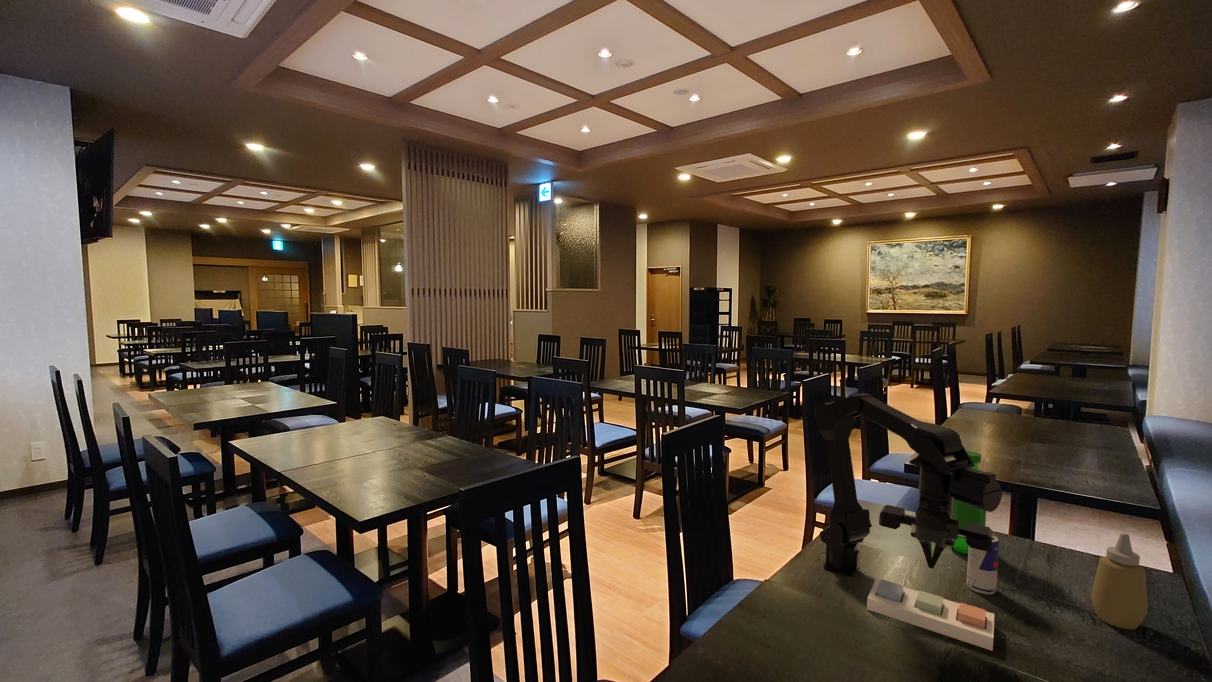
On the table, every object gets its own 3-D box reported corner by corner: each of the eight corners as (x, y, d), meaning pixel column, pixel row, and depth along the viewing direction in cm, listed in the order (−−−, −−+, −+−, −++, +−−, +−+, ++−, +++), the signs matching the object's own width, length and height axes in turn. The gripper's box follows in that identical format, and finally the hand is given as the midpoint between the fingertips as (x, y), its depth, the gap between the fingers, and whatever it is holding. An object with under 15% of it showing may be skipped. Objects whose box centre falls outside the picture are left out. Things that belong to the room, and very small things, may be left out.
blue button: (877, 597, 110) (877, 588, 110) (880, 588, 113) (881, 579, 113) (899, 604, 107) (900, 595, 107) (903, 594, 111) (903, 585, 110)
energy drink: (1000, 596, 113) (1004, 543, 112) (973, 593, 114) (976, 540, 113) (988, 583, 119) (991, 531, 117) (961, 580, 120) (965, 529, 118)
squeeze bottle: (1135, 639, 99) (1144, 548, 98) (1081, 615, 107) (1089, 530, 105) (1152, 626, 103) (1162, 538, 101) (1099, 604, 110) (1107, 522, 108)
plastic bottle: (933, 538, 140) (939, 446, 137) (978, 541, 138) (984, 448, 135) (950, 556, 130) (956, 458, 128) (998, 561, 128) (1005, 461, 126)
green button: (915, 609, 106) (916, 599, 105) (918, 599, 109) (919, 590, 109) (940, 617, 103) (941, 607, 103) (942, 606, 106) (943, 597, 106)
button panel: (866, 609, 109) (867, 597, 109) (875, 589, 116) (876, 578, 116) (992, 650, 96) (993, 638, 96) (993, 625, 103) (994, 613, 103)
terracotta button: (957, 622, 101) (958, 612, 101) (959, 611, 105) (959, 602, 105) (984, 630, 99) (985, 620, 99) (985, 619, 102) (985, 610, 102)
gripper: (875, 493, 103) (871, 569, 104) (993, 518, 92) (987, 603, 93) (885, 477, 112) (882, 547, 113) (994, 498, 101) (989, 576, 102)
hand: (931, 567), depth 105 cm, fingers closed
